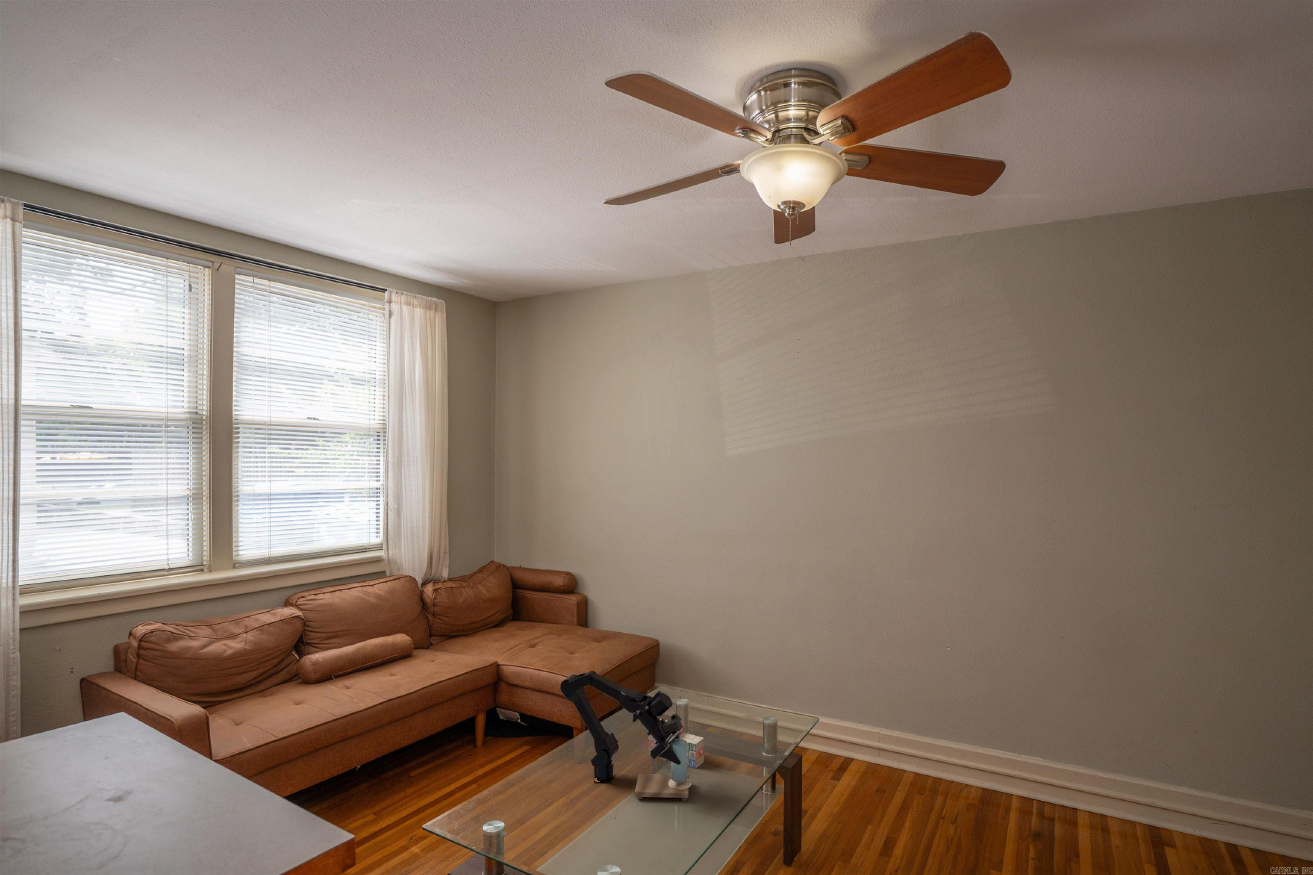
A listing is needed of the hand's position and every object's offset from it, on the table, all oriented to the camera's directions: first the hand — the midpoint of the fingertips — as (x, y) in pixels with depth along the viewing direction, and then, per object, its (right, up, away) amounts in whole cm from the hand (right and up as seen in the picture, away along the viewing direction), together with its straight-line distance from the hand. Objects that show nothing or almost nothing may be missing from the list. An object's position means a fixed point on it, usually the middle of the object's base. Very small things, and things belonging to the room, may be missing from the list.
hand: (682, 760), depth 240 cm
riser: (-7, -12, +1) cm, 14 cm away
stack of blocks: (-2, -11, +25) cm, 28 cm away
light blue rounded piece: (-1, -7, +1) cm, 7 cm away
